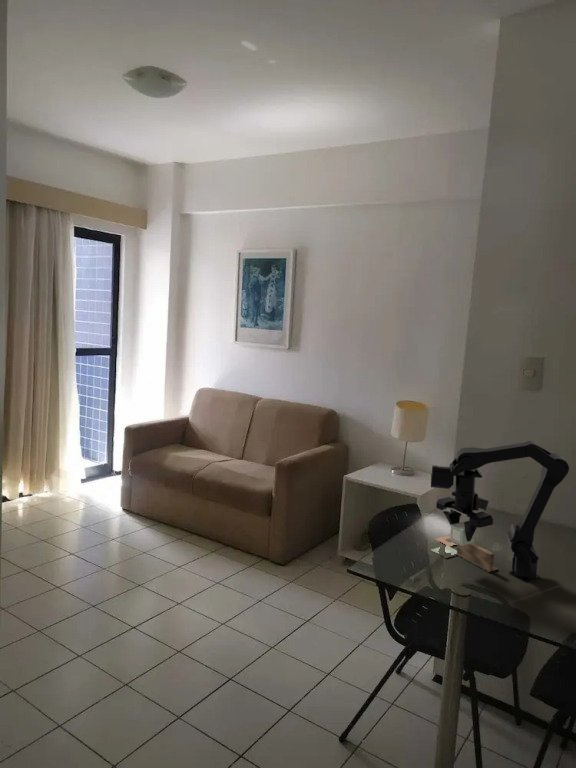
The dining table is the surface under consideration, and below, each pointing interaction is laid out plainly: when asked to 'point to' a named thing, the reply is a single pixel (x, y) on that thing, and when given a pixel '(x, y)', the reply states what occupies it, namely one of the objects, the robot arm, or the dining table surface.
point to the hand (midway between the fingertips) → (462, 537)
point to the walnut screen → (477, 555)
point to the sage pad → (447, 550)
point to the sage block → (460, 534)
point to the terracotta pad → (446, 540)
